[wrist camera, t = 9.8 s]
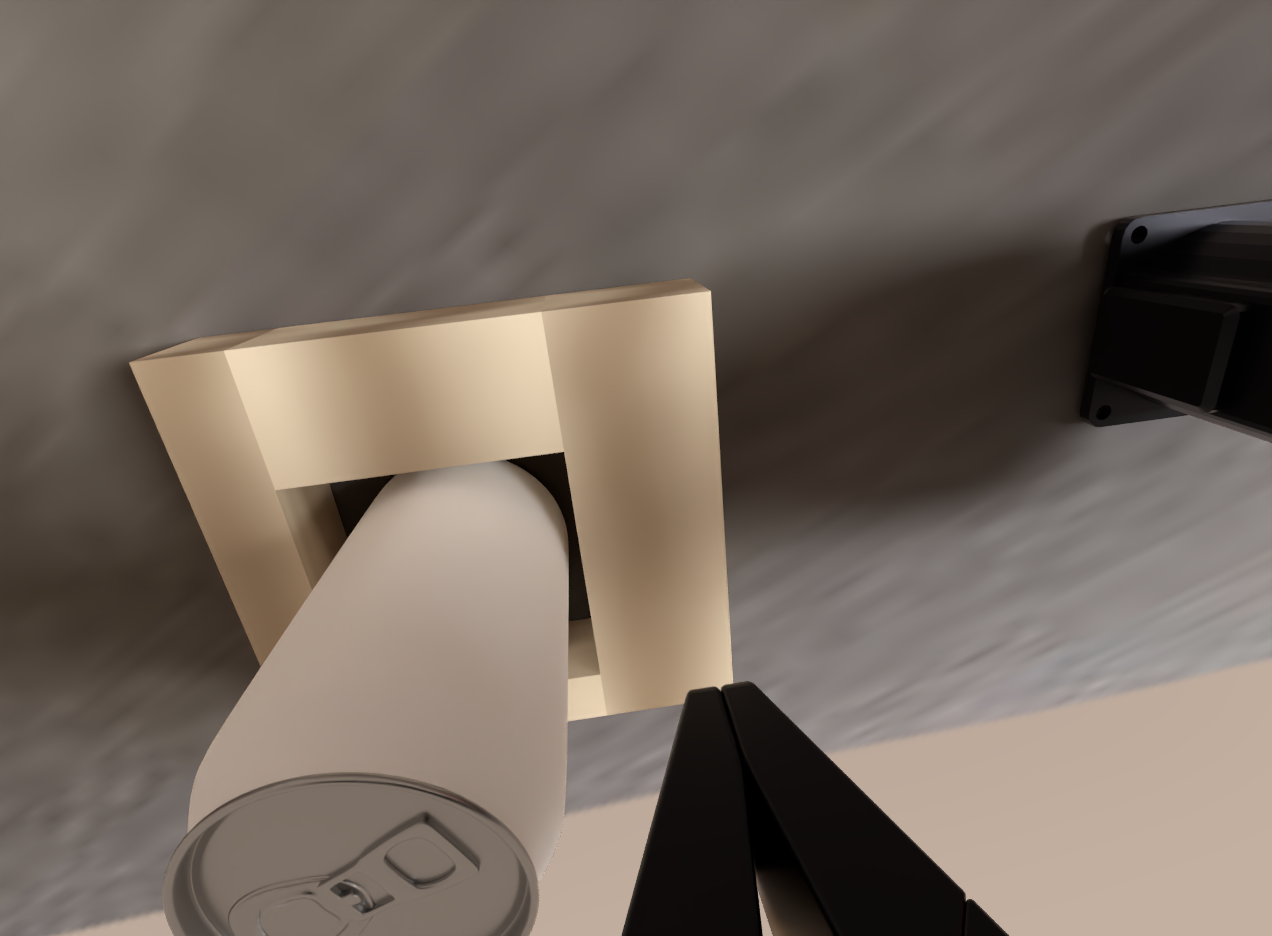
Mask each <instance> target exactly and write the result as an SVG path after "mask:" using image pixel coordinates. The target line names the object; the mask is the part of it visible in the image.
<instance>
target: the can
mask: <svg viewBox="0 0 1272 936" xmlns="http://www.w3.org/2000/svg"><path fill="white" fill-rule="evenodd" d="M568 610H569V552H568V535H567V529H566V524H565V521H564V518H563V515H562V512H561V510H560V508H559V506H558V504H557V503H556V501H555V499H554V498H553V496H552V495H551V494H550V492H549V491H548V490H547V489H546V488H545V487H544V486H543V485H542V484H541V483H540V482H539V481H538V480H537V479H536V478H535V477H533V476H532V475H531V474H529V473H528V472H527V471H525V470H523V469H522V468H520V467H518V466H516V465H514V464H512V463H510V462H508V461H505V460H499V461H491V462H484V463H476V464H469V465H461V466H454V467H446V468H439V469H431V470H424V471H416V472H409V473H401V474H397V475H396V476H394V477H393V478H392V479H391V480H390V481H389V482H388V483H387V484H386V485H385V486H384V488H383V489H382V490H381V491H380V493H379V494H378V495H377V497H376V498H375V499H374V501H373V502H372V504H371V505H370V506H369V508H368V509H367V511H366V512H365V514H364V515H363V517H362V518H361V519H360V521H359V522H358V524H357V525H356V527H355V528H354V530H353V531H352V533H351V534H350V536H349V537H348V538H347V540H346V541H345V543H344V544H343V546H342V547H341V549H340V550H339V552H338V553H337V555H336V556H335V558H334V559H333V561H332V562H331V564H330V565H329V566H328V568H327V569H326V571H325V572H324V574H323V575H322V577H321V578H320V580H319V581H318V583H317V584H316V586H315V587H314V589H313V590H312V592H311V593H310V595H309V596H308V598H307V599H306V601H305V602H304V604H303V605H302V607H301V608H300V609H299V611H298V612H297V614H296V615H295V617H294V618H293V620H292V621H291V623H290V624H289V626H288V627H287V629H286V630H285V632H284V633H283V635H282V636H281V638H280V639H279V641H278V642H277V644H276V645H275V647H274V648H273V650H272V651H271V653H270V654H269V656H268V657H267V659H266V660H265V662H264V663H263V665H262V666H261V668H260V669H259V671H258V672H257V674H256V675H255V677H254V678H253V680H252V681H251V683H250V684H249V686H248V687H247V689H246V690H245V692H244V693H243V695H242V696H241V698H240V699H239V701H238V703H237V704H236V706H235V707H234V709H233V710H232V712H231V713H230V715H229V716H228V718H227V719H226V721H225V723H224V724H223V726H222V727H221V729H220V731H219V732H218V734H217V736H216V737H215V739H214V740H213V742H212V744H211V745H210V747H209V749H208V751H207V753H206V755H205V757H204V759H203V761H202V763H201V765H200V767H199V769H198V771H197V774H196V777H195V780H194V784H193V788H192V793H191V798H190V807H189V817H188V834H187V835H186V836H185V837H184V838H183V840H182V841H181V843H180V844H179V845H178V847H177V849H176V850H175V852H174V854H173V856H172V857H171V860H170V862H169V864H168V867H167V870H166V873H165V877H164V882H163V906H164V911H165V915H166V919H167V922H168V924H169V927H170V929H171V931H172V933H173V935H174V936H529V935H530V932H531V931H532V928H533V926H534V923H535V920H536V916H537V912H538V906H539V886H538V884H539V882H540V880H541V879H542V877H543V875H544V873H545V871H546V869H547V867H548V865H549V863H550V861H551V859H552V857H553V855H554V852H555V850H556V847H557V845H558V842H559V839H560V835H561V831H562V826H563V819H564V811H565V796H566V770H567V711H568Z"/></svg>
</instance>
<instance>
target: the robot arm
mask: <svg viewBox="0 0 1272 936" xmlns="http://www.w3.org/2000/svg"><path fill="white" fill-rule="evenodd" d="M1135 228H1136V235H1135V238H1134V239H1133V240H1132V241H1131V234H1132V232H1133V230H1134V229H1135ZM1100 407H1102V409H1101V411H1100V412H1099V413H1098V414H1097V415H1096V413H1097V411H1098V409H1099V408H1100ZM1185 415H1191V416H1194V417H1197V418H1200V419H1203V420H1206V421H1208V422H1211V423H1214V424H1217V425H1220V426H1223V427H1226V428H1229V429H1232V430H1235V431H1238V432H1241V433H1244V434H1247V435H1250V436H1253V437H1256V438H1259V439H1262V440H1265V441H1267V442H1270V443H1272V200H1264V201H1256V202H1247V203H1239V204H1231V205H1222V206H1214V207H1206V208H1198V209H1189V210H1181V211H1173V212H1165V213H1156V214H1148V215H1140V216H1131V217H1128V218H1125V219H1124V220H1123V221H1121V222H1120V223H1119V224H1118V225H1117V227H1116V228H1115V230H1114V232H1113V235H1112V240H1111V245H1110V250H1109V256H1108V261H1107V267H1106V272H1105V278H1104V283H1103V288H1102V294H1101V299H1100V305H1099V310H1098V316H1097V321H1096V327H1095V332H1094V337H1093V343H1092V348H1091V354H1090V359H1089V365H1088V370H1087V375H1086V381H1085V386H1084V392H1083V397H1082V403H1081V408H1080V417H1081V419H1082V420H1083V421H1084V422H1086V423H1088V424H1090V425H1093V426H1095V427H1104V426H1111V425H1119V424H1126V423H1133V422H1141V421H1148V420H1155V419H1163V418H1170V417H1177V416H1185ZM757 888H758V890H757ZM758 891H759V895H760V898H761V901H762V904H763V907H764V910H765V913H766V916H767V919H768V922H769V925H770V928H771V931H772V934H773V936H1009V935H1008V934H1007V933H1006V932H1005V931H1004V930H1003V929H1002V928H1001V927H1000V926H999V925H998V924H997V923H996V922H995V921H994V920H993V919H992V918H991V917H989V915H988V914H987V913H986V912H985V911H984V910H983V909H982V908H981V907H980V906H979V905H977V903H976V902H975V901H974V900H972V899H968V900H967V901H966V894H965V892H964V891H963V890H962V889H961V888H960V887H959V886H958V885H957V884H956V883H955V882H954V881H953V880H952V879H951V878H950V877H949V876H948V875H947V874H946V873H945V872H944V871H943V870H942V869H941V868H940V867H939V866H938V865H937V864H936V863H935V862H934V861H933V860H932V859H931V858H930V857H929V856H928V855H927V854H926V853H925V852H924V851H923V850H921V848H920V847H919V846H918V845H917V844H916V843H915V842H914V841H913V840H912V839H910V837H908V836H907V835H906V834H905V833H904V832H903V831H902V830H901V829H900V828H899V827H898V826H897V825H896V824H895V823H894V822H893V821H892V820H891V819H890V818H889V817H888V816H887V815H886V814H885V813H884V812H883V811H882V810H881V809H880V808H879V807H878V806H877V805H876V804H875V803H874V802H873V801H872V800H871V799H870V798H869V797H868V796H867V795H866V794H865V793H864V792H863V791H862V790H861V789H860V788H859V787H858V786H857V785H856V784H855V783H854V782H853V781H852V780H851V779H850V778H849V777H848V776H847V775H846V774H845V773H844V772H843V771H842V770H841V769H840V768H839V767H838V766H837V765H836V764H835V763H834V762H833V761H831V759H830V758H829V757H828V756H827V755H826V754H825V753H824V752H823V751H822V750H821V749H820V748H818V747H817V746H816V745H815V744H814V743H813V742H812V741H811V740H810V739H809V738H808V737H807V736H806V735H805V734H804V733H803V732H802V731H801V730H800V729H799V728H798V727H797V726H796V725H795V724H794V723H793V722H792V721H791V720H790V719H789V718H788V717H787V716H786V715H785V714H784V713H783V712H782V711H781V710H780V709H779V708H778V707H777V706H776V705H775V704H774V703H773V702H772V701H771V700H770V699H769V698H768V697H767V696H766V695H765V694H764V693H763V692H762V691H761V690H760V689H759V688H758V687H757V686H756V685H755V684H754V683H752V682H749V681H746V682H739V683H732V684H726V685H723V686H722V687H721V690H719V689H718V687H715V686H712V687H706V688H699V689H692V690H690V691H689V692H688V693H687V695H686V698H685V702H684V705H683V709H682V713H681V716H680V720H679V724H678V728H677V731H676V735H675V739H674V742H673V746H672V750H671V754H670V757H669V761H668V765H667V769H666V772H665V776H664V780H663V783H662V787H661V791H660V795H659V799H658V802H657V806H656V810H655V813H654V817H653V821H652V824H651V828H650V832H649V835H648V839H647V843H646V847H645V851H644V854H643V858H642V862H641V865H640V869H639V873H638V876H637V880H636V884H635V888H634V891H633V895H632V899H631V903H630V906H629V910H628V914H627V918H626V921H625V925H624V929H623V932H622V936H763V935H762V926H761V917H760V908H759V899H758Z"/></svg>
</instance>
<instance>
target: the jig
mask: <svg viewBox="0 0 1272 936" xmlns="http://www.w3.org/2000/svg"><path fill="white" fill-rule="evenodd" d="M129 364H130V366H131V369H132V371H133V373H134V376H135V378H136V380H137V382H138V385H139V387H140V389H141V392H142V394H143V396H144V399H145V401H146V403H147V406H148V408H149V410H150V412H151V415H152V417H153V419H154V422H155V424H156V426H157V429H158V431H159V433H160V435H161V438H162V440H163V442H164V445H165V447H166V449H167V452H168V454H169V456H170V459H171V461H172V463H173V465H174V468H175V470H176V472H177V475H178V477H179V479H180V482H181V484H182V486H183V489H184V491H185V493H186V495H187V498H188V500H189V502H190V505H191V507H192V509H193V512H194V514H195V516H196V519H197V521H198V523H199V525H200V528H201V530H202V532H203V535H204V537H205V539H206V542H207V544H208V546H209V549H210V551H211V553H212V555H213V558H214V560H215V562H216V565H217V567H218V569H219V572H220V574H221V576H222V578H223V581H224V583H225V585H226V588H227V590H228V592H229V595H230V597H231V599H232V602H233V604H234V606H235V608H236V611H237V613H238V615H239V618H240V620H241V622H242V625H243V627H244V629H245V632H246V634H247V636H248V638H249V641H250V643H251V645H252V648H253V650H254V652H255V655H256V657H257V659H258V662H259V664H260V666H262V665H263V663H264V662H265V660H266V659H267V657H268V656H269V654H270V653H271V651H272V650H273V648H274V647H275V645H276V644H277V642H278V641H279V639H280V638H281V636H282V635H283V633H284V632H285V630H286V629H287V627H288V626H289V624H290V623H291V621H292V620H293V618H294V617H295V615H296V614H297V612H298V611H299V609H300V608H301V607H302V605H303V604H304V602H305V601H306V599H307V598H308V596H309V595H310V593H311V592H312V590H313V589H314V587H315V586H316V584H317V583H318V581H319V580H320V578H321V577H322V575H323V574H324V572H325V571H326V569H327V568H328V566H329V565H330V564H331V562H332V561H333V559H334V558H335V556H336V555H337V553H338V552H339V550H340V549H341V547H342V546H343V544H344V543H345V541H346V540H347V536H346V533H345V530H344V527H343V524H342V521H341V518H340V515H339V512H338V509H337V506H336V503H335V499H334V496H333V493H332V490H331V487H330V484H329V483H334V482H341V481H349V480H356V479H364V478H371V477H379V476H386V475H394V474H401V473H409V472H416V471H424V470H431V469H439V468H446V467H454V466H461V465H469V464H476V463H484V462H491V461H499V460H507V459H514V458H522V457H529V456H537V455H544V454H552V453H559V452H564V454H565V460H566V466H567V472H568V479H569V485H570V491H571V497H572V503H573V509H574V515H575V522H576V528H577V534H578V540H579V546H580V552H581V558H582V565H583V571H584V577H585V583H586V589H587V595H588V601H589V607H590V614H591V618H587V619H580V620H573V621H568V711H567V721H573V720H580V719H586V718H593V717H600V716H606V715H613V714H619V713H626V712H632V711H639V710H645V709H652V708H658V707H665V706H672V705H678V704H684V702H685V698H686V695H687V693H688V692H689V691H690V690H692V689H699V688H706V687H712V686H715V687H718V689H719V690H721V687H722V686H723V685H726V684H732V683H733V674H732V656H731V638H730V621H729V603H728V585H727V568H726V550H725V532H724V515H723V497H722V480H721V462H720V444H719V427H718V409H717V391H716V374H715V356H714V338H713V321H712V303H711V291H710V290H708V289H707V288H705V287H703V286H702V285H700V284H699V283H697V282H695V281H694V280H692V279H690V278H686V279H678V280H670V281H662V282H654V283H645V284H637V285H629V286H621V287H612V288H604V289H596V290H588V291H579V292H571V293H563V294H555V295H547V296H538V297H530V298H522V299H514V300H505V301H497V302H489V303H481V304H473V305H464V306H456V307H448V308H440V309H431V310H423V311H415V312H407V313H398V314H390V315H382V316H374V317H366V318H357V319H349V320H341V321H333V322H324V323H316V324H308V325H300V326H291V327H283V328H275V329H267V330H259V331H250V332H242V333H234V334H226V335H217V336H209V337H201V338H196V339H194V340H191V341H188V342H185V343H182V344H179V345H177V346H174V347H171V348H168V349H165V350H162V351H160V352H157V353H154V354H151V355H148V356H145V357H143V358H140V359H137V360H134V361H131V362H129Z"/></svg>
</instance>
